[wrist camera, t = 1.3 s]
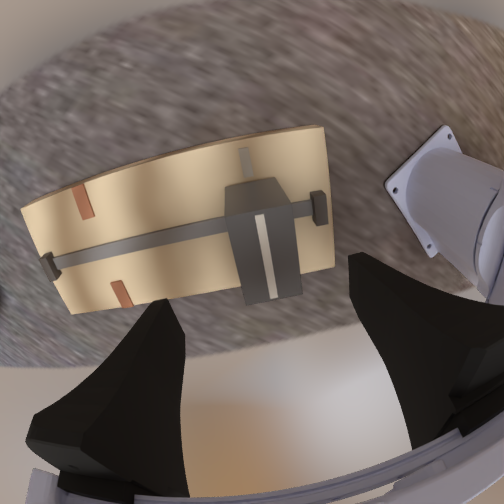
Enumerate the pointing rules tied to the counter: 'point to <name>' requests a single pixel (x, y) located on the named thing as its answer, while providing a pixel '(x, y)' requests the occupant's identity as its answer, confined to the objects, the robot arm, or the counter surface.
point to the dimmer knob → (263, 240)
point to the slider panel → (176, 220)
